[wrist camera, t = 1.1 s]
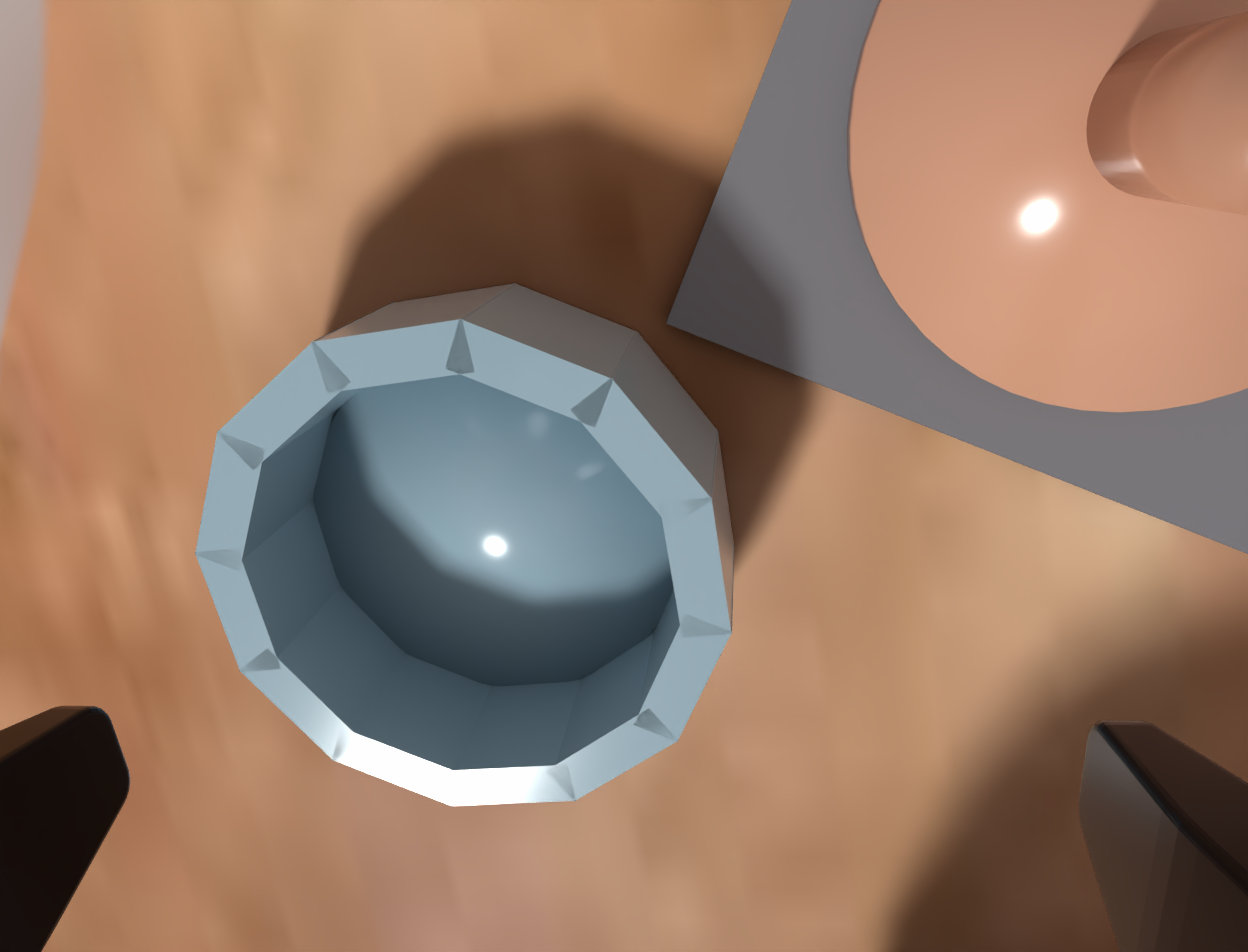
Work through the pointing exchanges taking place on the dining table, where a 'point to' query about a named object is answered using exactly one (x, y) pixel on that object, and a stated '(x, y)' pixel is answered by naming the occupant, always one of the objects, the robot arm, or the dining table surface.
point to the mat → (884, 334)
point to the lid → (1062, 191)
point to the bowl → (475, 547)
